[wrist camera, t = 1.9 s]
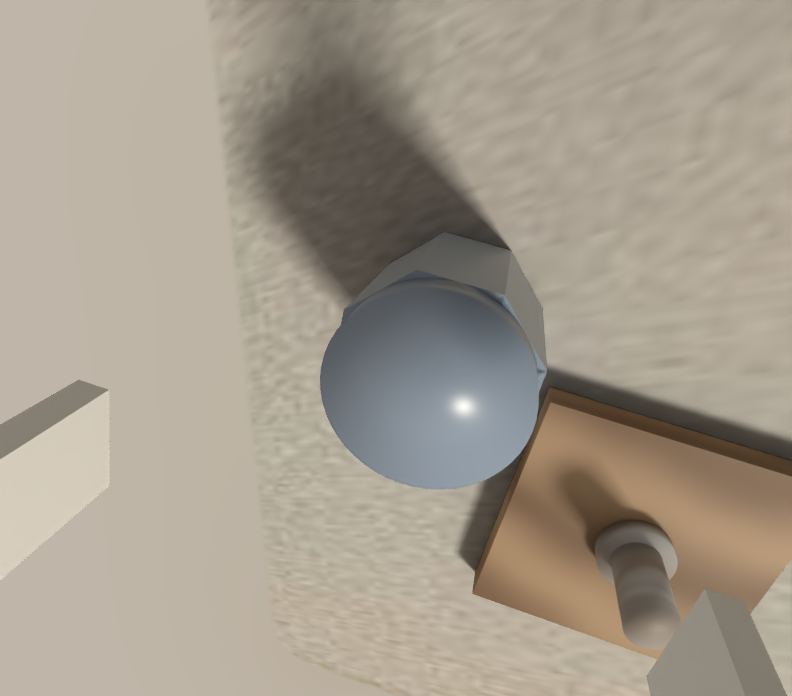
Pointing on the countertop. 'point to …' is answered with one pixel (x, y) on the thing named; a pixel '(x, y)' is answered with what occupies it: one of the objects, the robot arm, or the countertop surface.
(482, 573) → the brown wooden square board
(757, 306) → the countertop surface
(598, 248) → the countertop surface
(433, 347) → the cap
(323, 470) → the countertop surface
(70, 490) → the robot arm
